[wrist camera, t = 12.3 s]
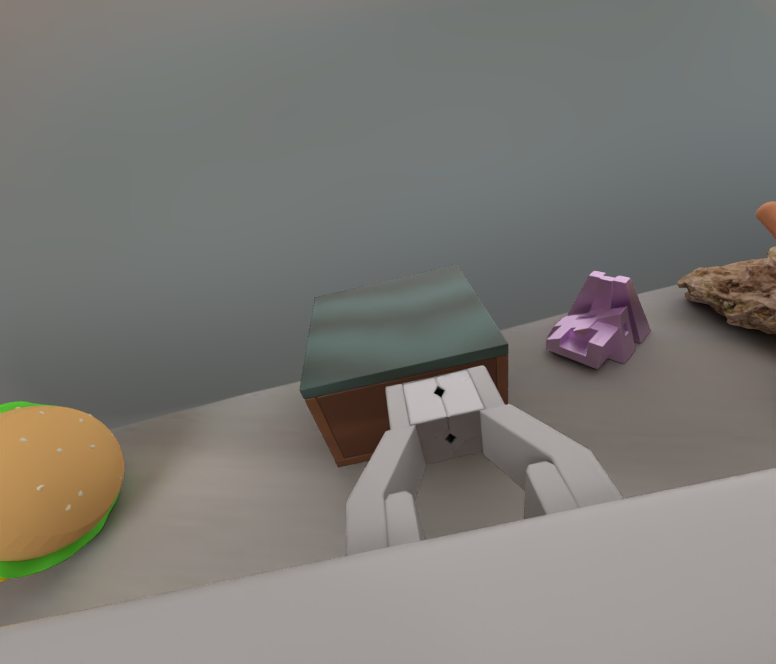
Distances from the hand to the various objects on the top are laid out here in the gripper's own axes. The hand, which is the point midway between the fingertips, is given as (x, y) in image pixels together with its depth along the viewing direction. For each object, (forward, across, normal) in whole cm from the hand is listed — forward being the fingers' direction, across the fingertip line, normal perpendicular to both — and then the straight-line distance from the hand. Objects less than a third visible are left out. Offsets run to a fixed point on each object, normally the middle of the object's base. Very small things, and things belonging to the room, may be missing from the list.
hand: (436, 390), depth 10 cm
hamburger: (+9, +33, +11) cm, 36 cm away
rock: (+22, -32, +15) cm, 41 cm away
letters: (+17, -17, +16) cm, 29 cm away
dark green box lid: (+15, +1, +8) cm, 17 cm away
